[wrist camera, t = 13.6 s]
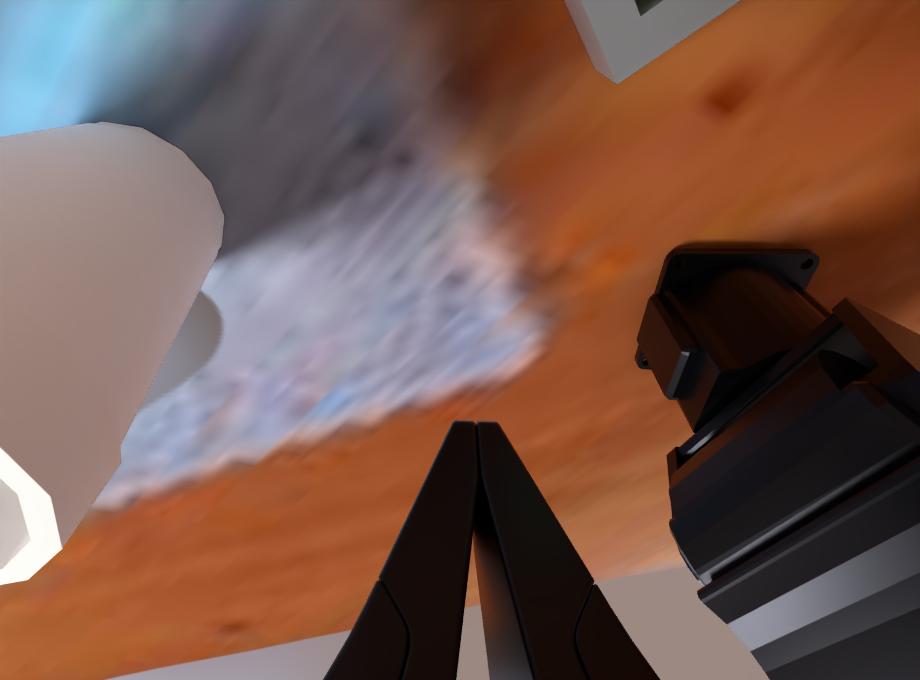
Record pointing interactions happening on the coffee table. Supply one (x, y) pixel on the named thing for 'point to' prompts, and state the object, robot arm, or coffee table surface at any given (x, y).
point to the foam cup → (86, 312)
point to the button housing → (637, 29)
